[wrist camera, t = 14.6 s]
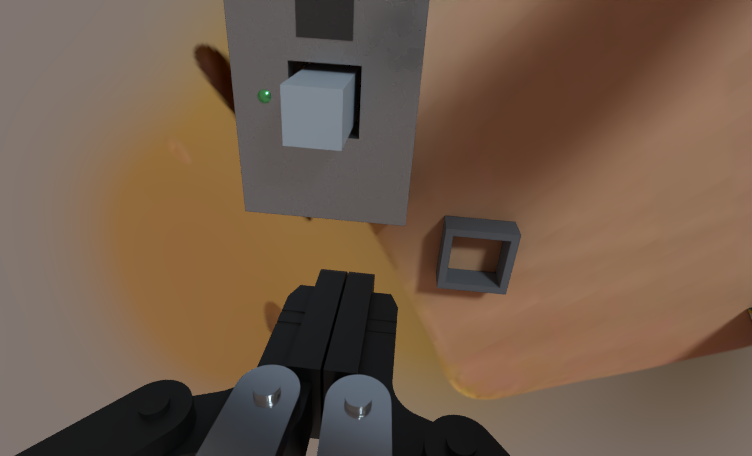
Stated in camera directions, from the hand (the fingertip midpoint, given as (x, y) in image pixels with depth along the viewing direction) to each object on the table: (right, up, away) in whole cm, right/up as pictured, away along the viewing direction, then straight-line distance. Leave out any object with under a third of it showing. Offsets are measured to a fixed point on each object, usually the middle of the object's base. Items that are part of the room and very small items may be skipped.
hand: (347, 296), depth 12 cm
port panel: (-3, +13, +23) cm, 27 cm away
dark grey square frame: (+10, 0, +30) cm, 31 cm away
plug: (-3, +13, +23) cm, 27 cm away
